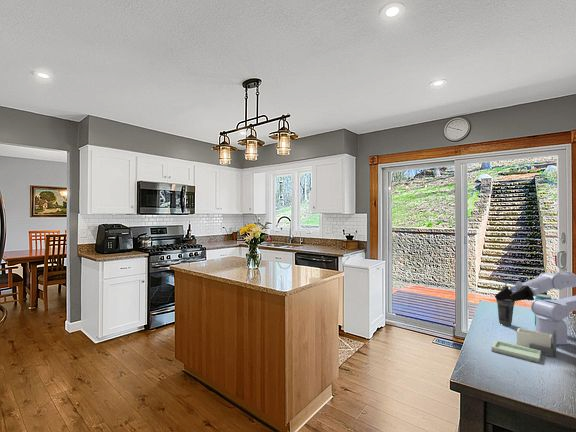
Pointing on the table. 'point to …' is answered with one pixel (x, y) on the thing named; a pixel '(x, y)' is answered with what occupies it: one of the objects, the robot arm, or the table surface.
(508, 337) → the table surface
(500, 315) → the beverage cup
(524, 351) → the tray
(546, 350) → the bay
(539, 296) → the beverage can
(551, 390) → the table surface
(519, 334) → the box
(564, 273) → the robot arm
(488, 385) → the table surface
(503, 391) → the table surface
